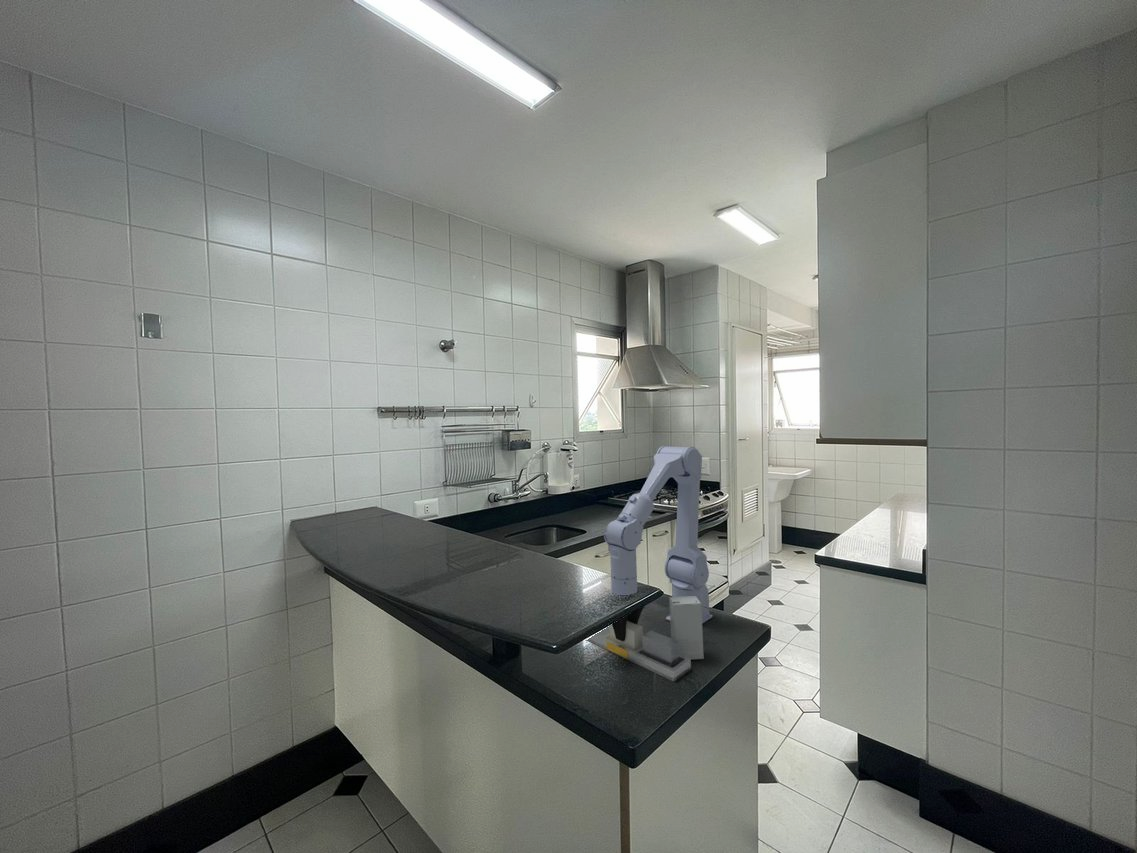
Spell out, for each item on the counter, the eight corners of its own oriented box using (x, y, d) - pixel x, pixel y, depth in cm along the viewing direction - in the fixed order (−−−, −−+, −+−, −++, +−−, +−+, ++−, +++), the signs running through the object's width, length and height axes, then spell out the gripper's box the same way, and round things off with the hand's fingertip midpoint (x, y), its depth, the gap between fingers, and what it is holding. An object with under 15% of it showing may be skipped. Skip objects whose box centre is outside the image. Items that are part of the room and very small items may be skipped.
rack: (589, 624, 109) (588, 602, 109) (690, 669, 88) (690, 641, 88) (571, 633, 105) (570, 610, 105) (673, 682, 84) (672, 653, 84)
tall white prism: (618, 638, 100) (618, 617, 100) (643, 649, 95) (642, 626, 95) (610, 643, 98) (609, 621, 98) (634, 655, 93) (634, 631, 93)
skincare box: (698, 649, 96) (696, 594, 96) (704, 660, 91) (702, 603, 91) (670, 650, 96) (668, 595, 96) (675, 661, 91) (673, 603, 91)
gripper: (630, 563, 104) (631, 620, 104) (588, 579, 95) (589, 642, 95) (654, 570, 99) (656, 629, 99) (612, 587, 89) (614, 653, 89)
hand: (625, 636), depth 97 cm, fingers closed on tall white prism, 3 cm apart
